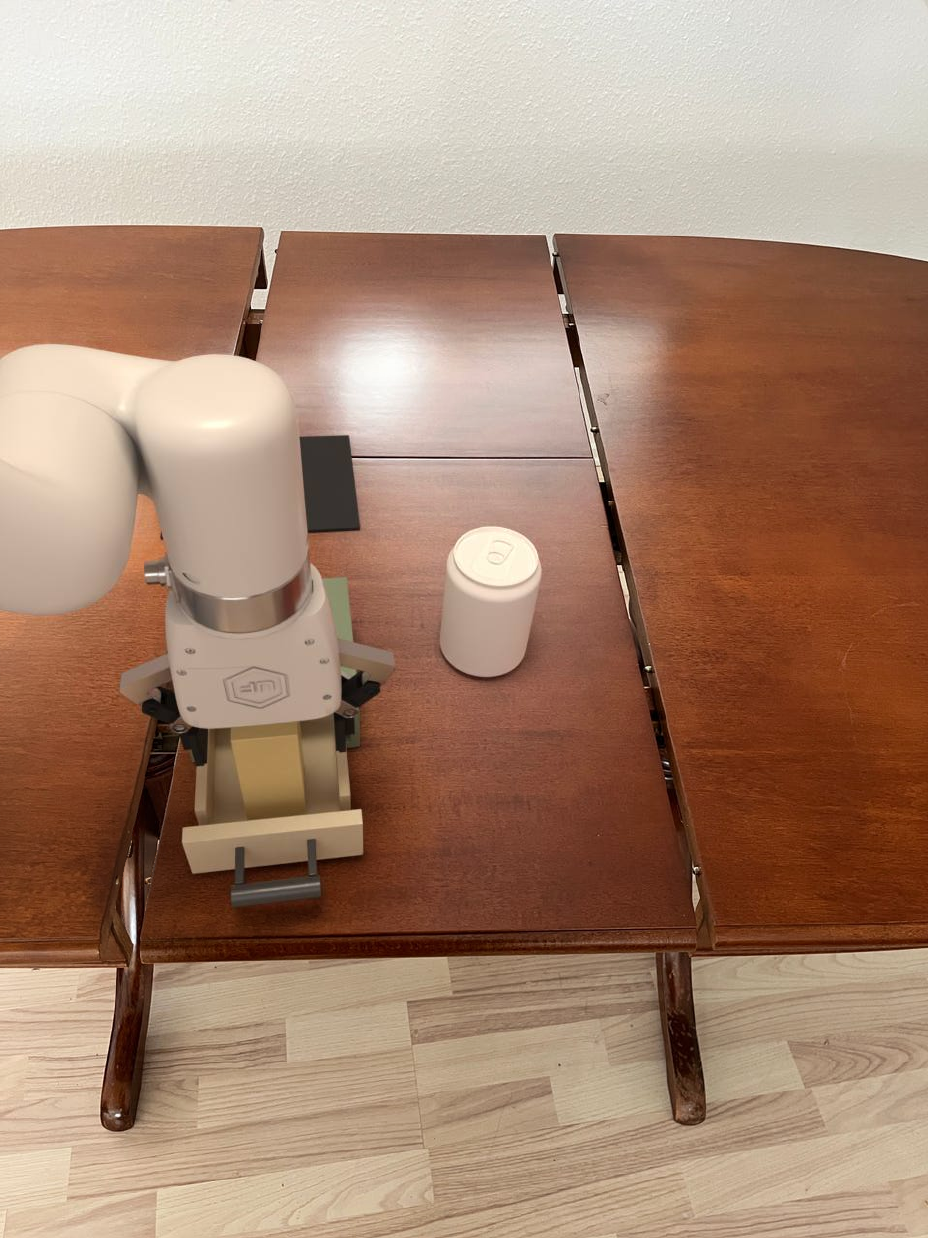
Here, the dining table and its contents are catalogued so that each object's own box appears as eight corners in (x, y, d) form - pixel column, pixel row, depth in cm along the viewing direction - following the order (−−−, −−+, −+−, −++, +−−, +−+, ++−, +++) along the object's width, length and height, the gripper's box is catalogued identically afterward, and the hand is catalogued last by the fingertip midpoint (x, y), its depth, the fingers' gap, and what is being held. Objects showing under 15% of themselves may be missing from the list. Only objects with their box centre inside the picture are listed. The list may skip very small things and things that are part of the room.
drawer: (368, 909, 62) (368, 880, 58) (189, 931, 60) (178, 902, 56) (350, 719, 73) (349, 684, 69) (199, 732, 70) (190, 697, 67)
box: (247, 820, 64) (230, 741, 57) (247, 770, 67) (231, 688, 59) (306, 814, 65) (298, 735, 57) (304, 764, 68) (295, 683, 60)
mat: (160, 539, 86) (160, 536, 86) (170, 443, 97) (170, 440, 96) (360, 530, 90) (360, 527, 89) (348, 437, 100) (348, 434, 100)
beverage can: (426, 664, 78) (433, 571, 69) (456, 605, 84) (467, 511, 75) (509, 693, 77) (528, 602, 68) (535, 630, 82) (555, 538, 73)
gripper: (73, 634, 45) (141, 801, 57) (403, 611, 47) (398, 775, 60) (90, 536, 50) (150, 710, 62) (389, 520, 52) (387, 690, 65)
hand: (272, 742), depth 61 cm, fingers open, 9 cm apart
